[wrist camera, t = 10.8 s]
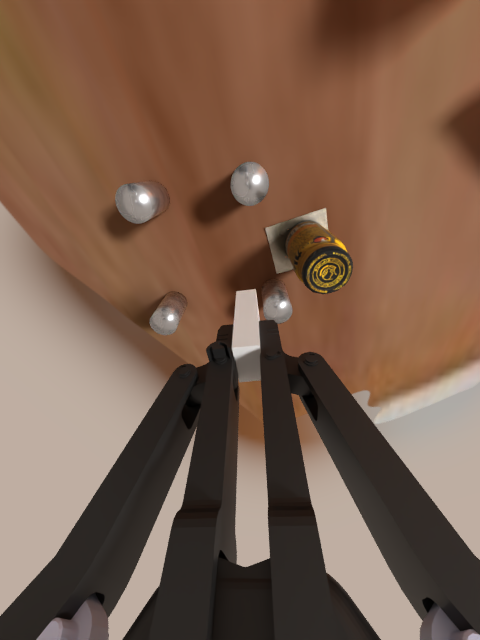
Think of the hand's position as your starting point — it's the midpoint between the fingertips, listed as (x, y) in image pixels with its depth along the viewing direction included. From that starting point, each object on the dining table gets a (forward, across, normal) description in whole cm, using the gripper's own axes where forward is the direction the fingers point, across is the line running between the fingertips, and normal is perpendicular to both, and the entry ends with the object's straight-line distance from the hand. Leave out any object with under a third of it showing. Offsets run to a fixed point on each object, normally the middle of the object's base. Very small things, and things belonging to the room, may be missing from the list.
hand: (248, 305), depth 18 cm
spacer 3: (+20, +1, +7) cm, 21 cm away
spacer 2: (+19, -14, -9) cm, 25 cm away
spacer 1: (+20, -12, +7) cm, 24 cm away
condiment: (+20, +7, -2) cm, 21 cm away
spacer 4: (+19, +3, -9) cm, 21 cm away
